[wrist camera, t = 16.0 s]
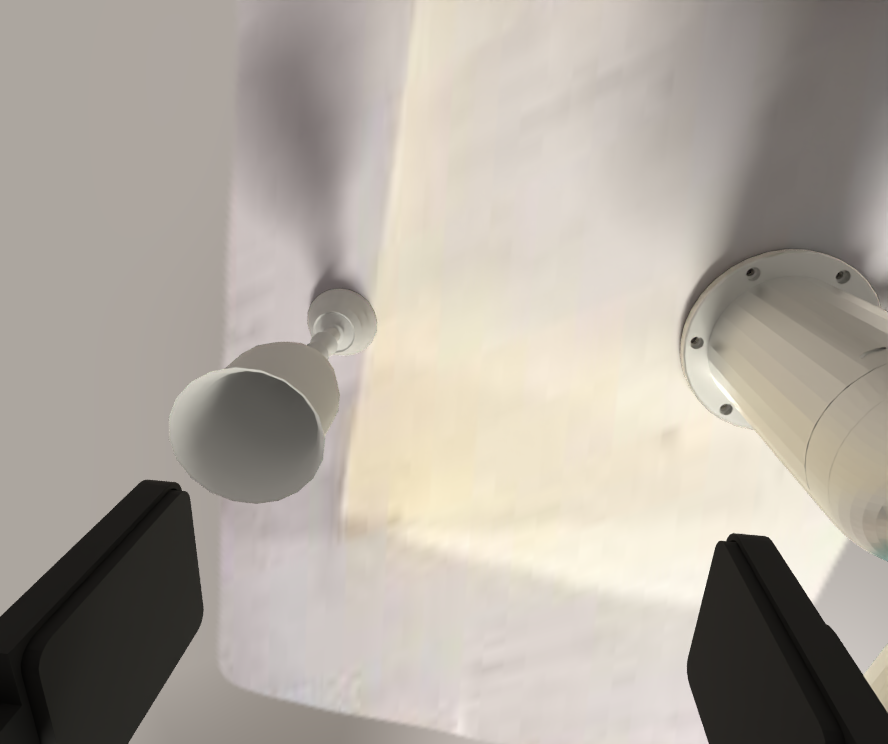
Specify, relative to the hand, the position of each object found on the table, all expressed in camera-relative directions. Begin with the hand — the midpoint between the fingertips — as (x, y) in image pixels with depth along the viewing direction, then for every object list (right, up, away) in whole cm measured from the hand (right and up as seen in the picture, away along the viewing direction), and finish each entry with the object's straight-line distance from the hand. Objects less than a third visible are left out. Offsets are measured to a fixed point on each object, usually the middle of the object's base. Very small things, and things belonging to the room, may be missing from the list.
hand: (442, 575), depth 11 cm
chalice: (-7, +7, +34) cm, 35 cm away
